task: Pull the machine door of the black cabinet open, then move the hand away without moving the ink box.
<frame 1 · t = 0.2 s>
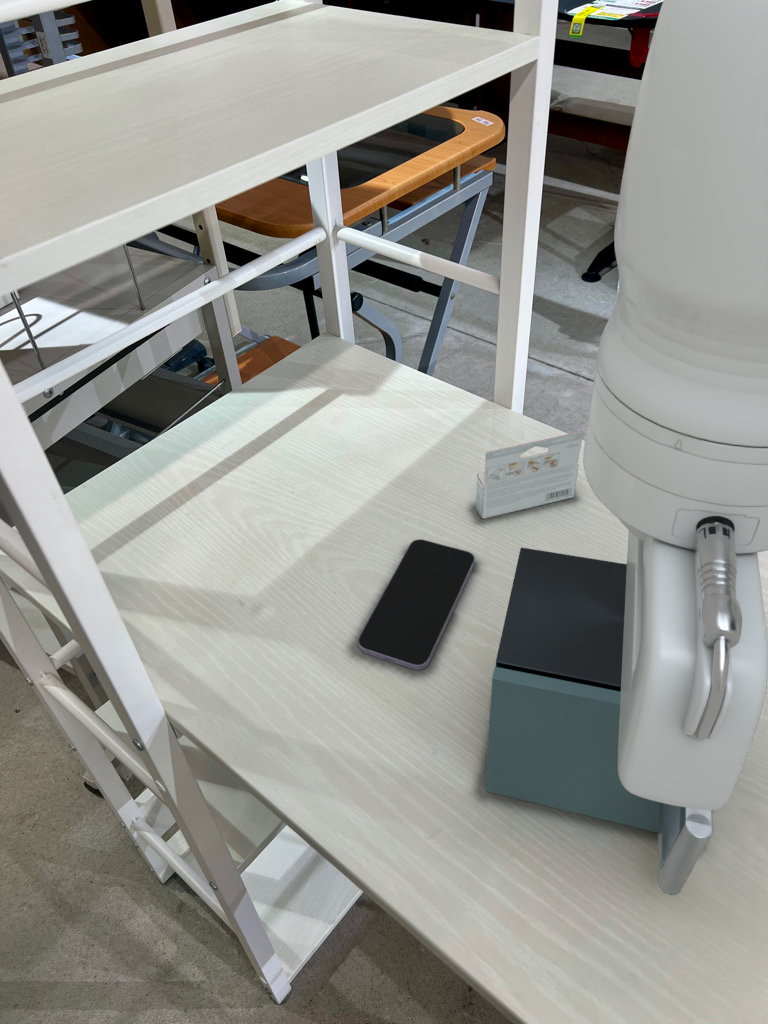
hand: (648, 661, 36), 27 cm above the table, tool pointing down, fingers open, 8 cm apart
smartphone: (419, 605, 75), on the table
machine door: (598, 797, 51), point 8 cm above the table, hinge at 0.0°
ink box: (524, 504, 84), on the table
black cabinet: (594, 740, 63), on the table
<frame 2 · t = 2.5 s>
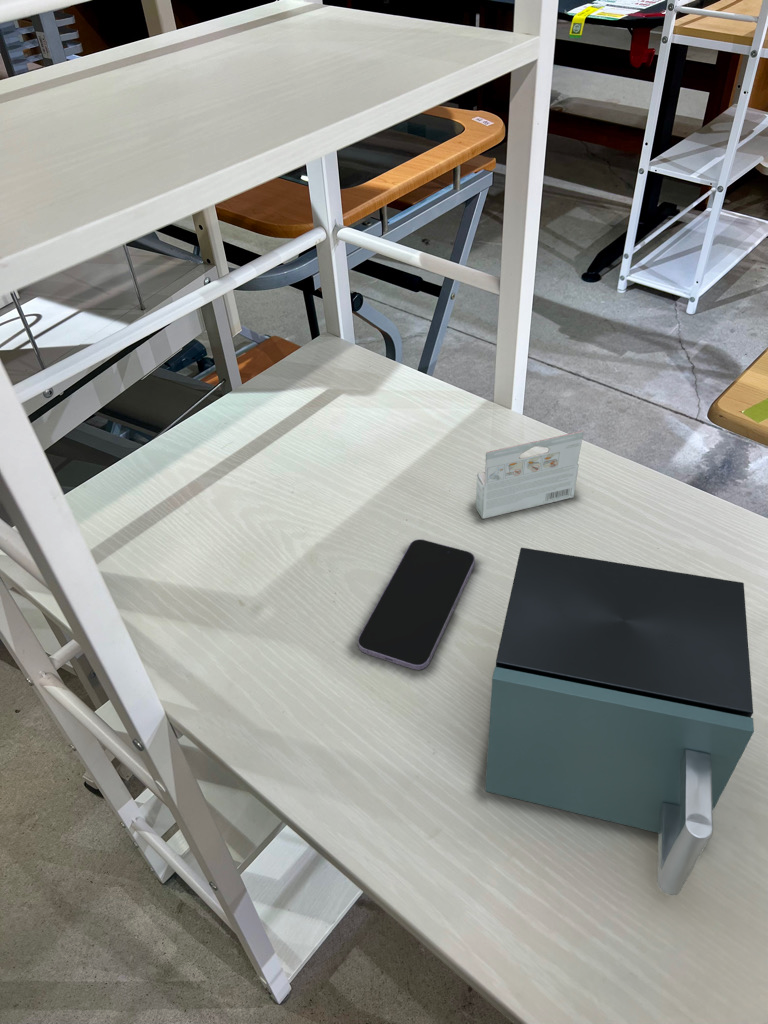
nothing on the table moved.
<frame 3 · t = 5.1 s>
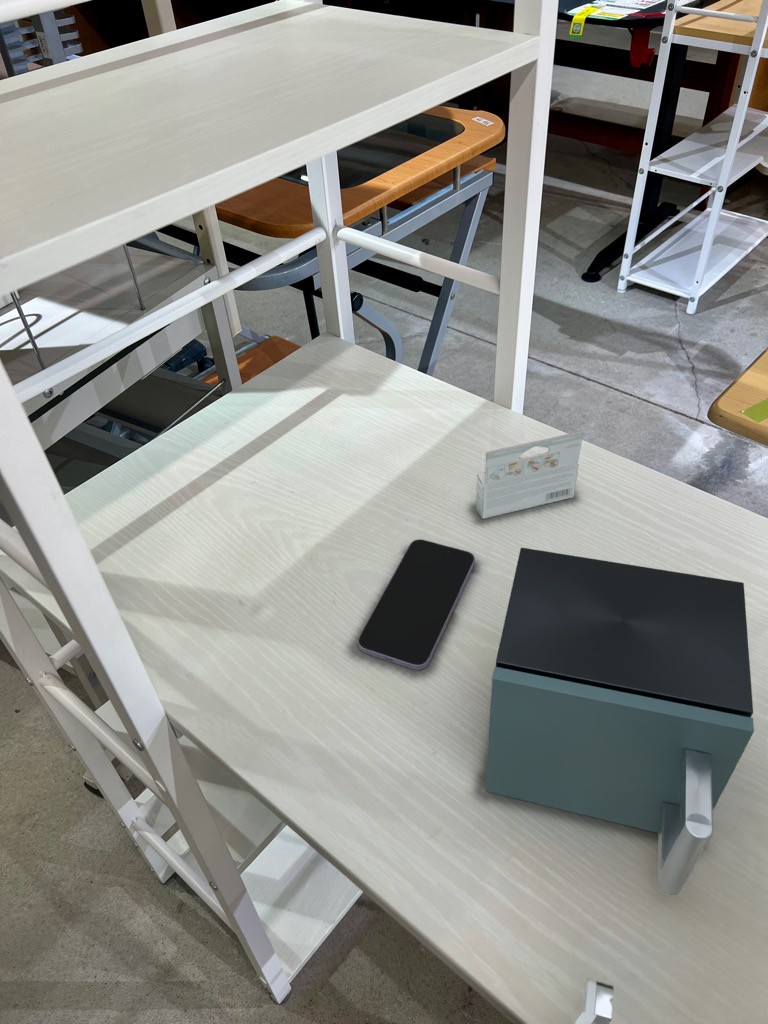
hand: (685, 1009, 42), 8 cm above the table, tool horizontal, fingers open, 8 cm apart
nothing on the table moved.
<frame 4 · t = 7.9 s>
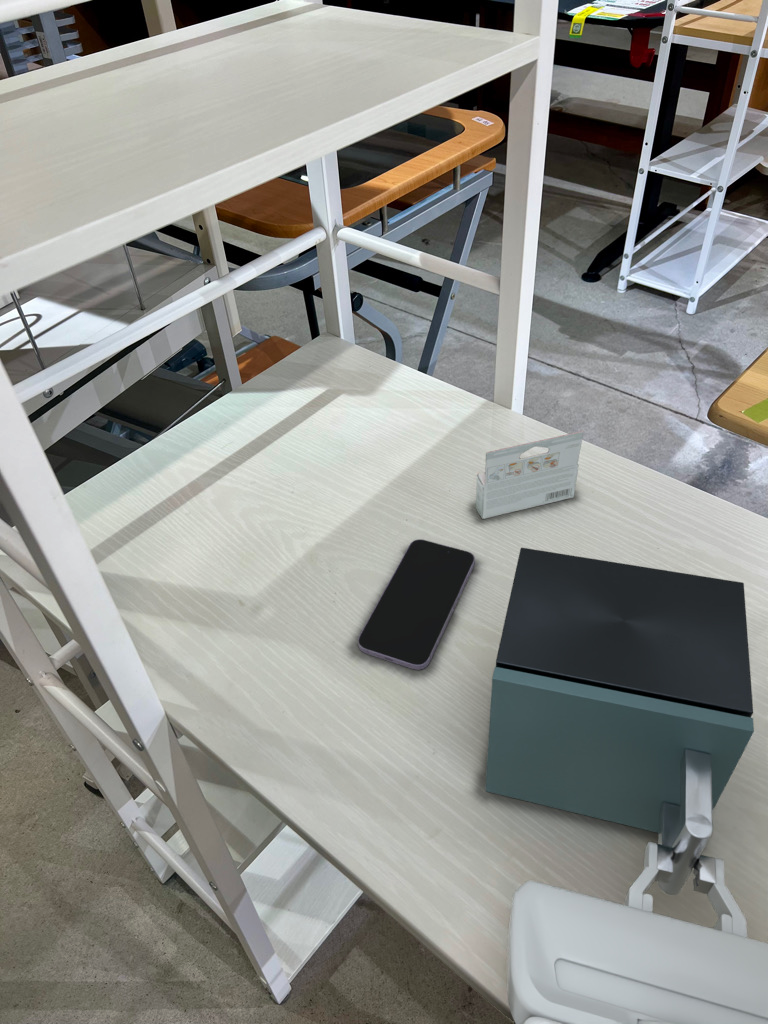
hand: (682, 853, 48), 8 cm above the table, tool horizontal, fingers closed on machine door, 2 cm apart
machine door: (598, 797, 51), point 8 cm above the table, hinge at 0.0°, touching gripper
everything else where it was.
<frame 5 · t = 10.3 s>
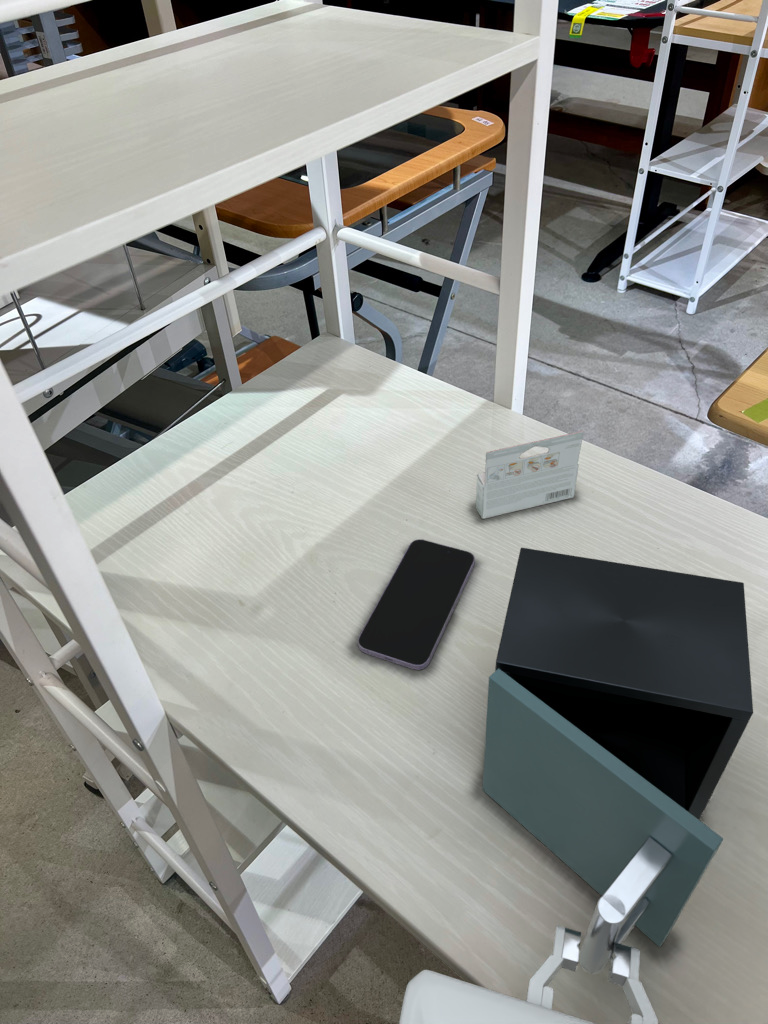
hand: (595, 939, 44), 8 cm above the table, tool horizontal, fingers closed
machine door: (553, 839, 49), point 8 cm above the table, hinge at 30.5°, touching gripper
everything else where it was.
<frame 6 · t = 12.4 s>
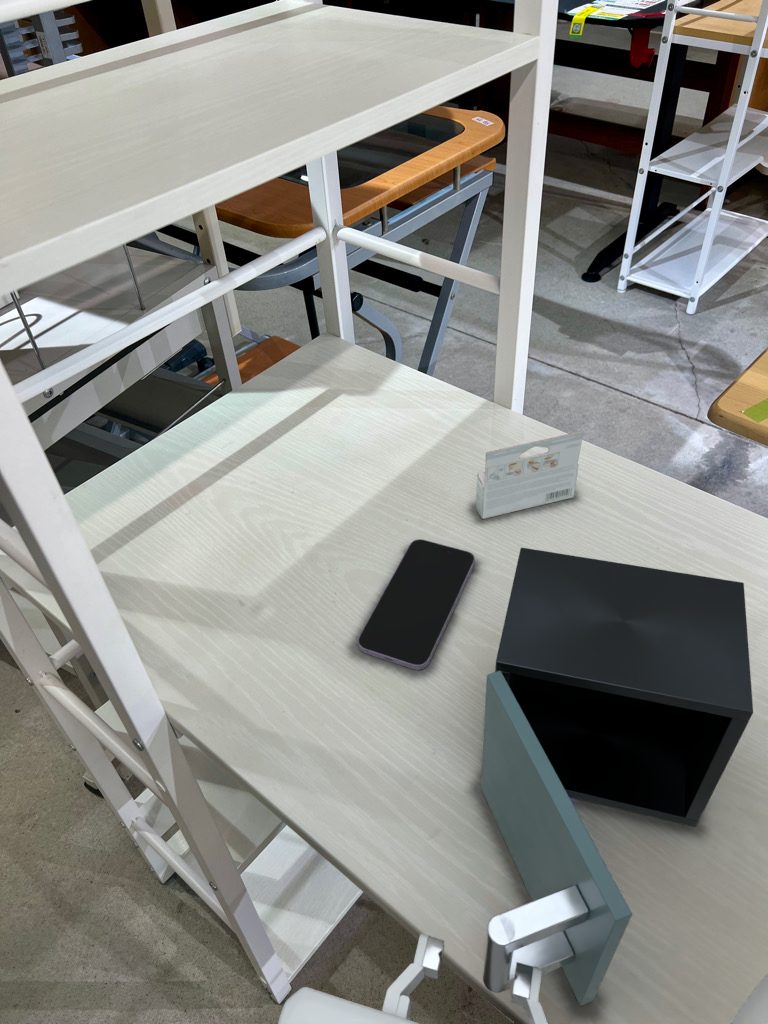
hand: (479, 953, 44), 8 cm above the table, tool horizontal, fingers open, 4 cm apart
machine door: (499, 852, 49), point 8 cm above the table, hinge at 55.4°
everything else where it was.
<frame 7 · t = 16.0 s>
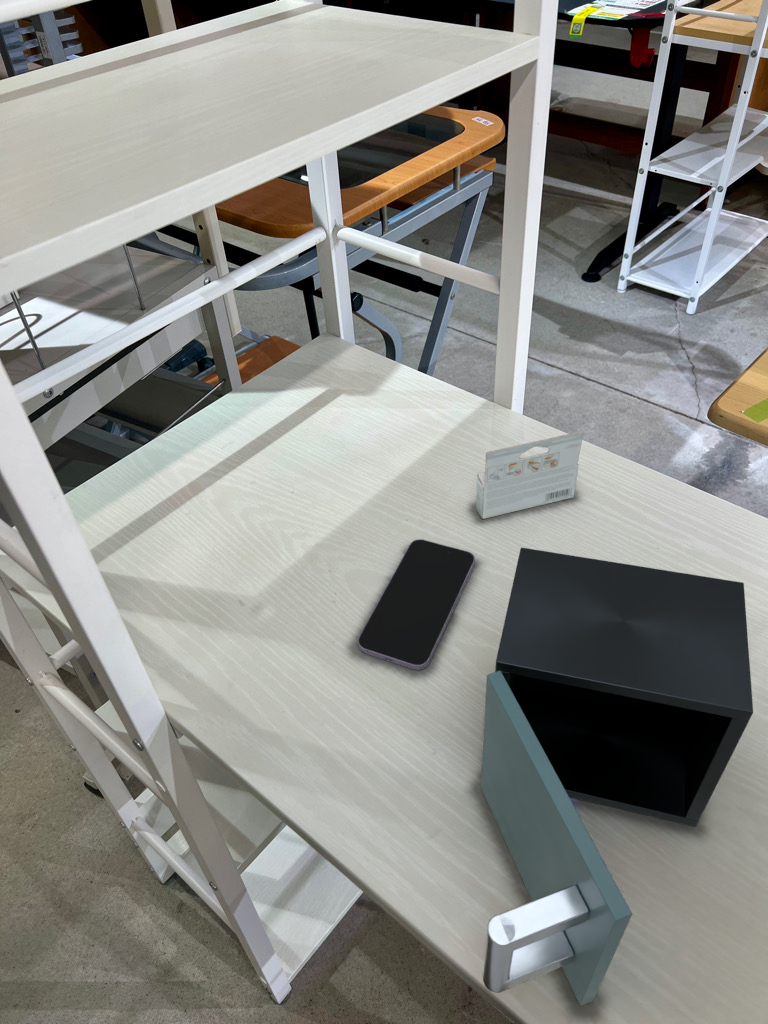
nothing on the table moved.
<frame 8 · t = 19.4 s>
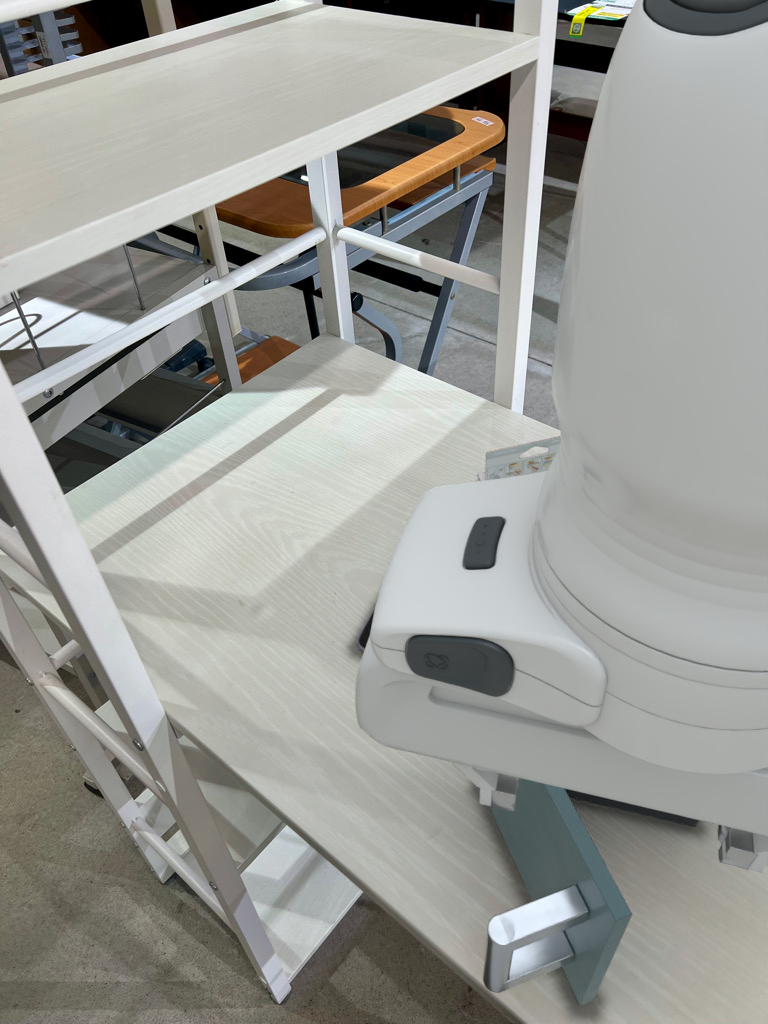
hand: (614, 819, 31), 27 cm above the table, tool pointing down, fingers open, 8 cm apart
nothing on the table moved.
at the end: machine door at +55° (first picture: +0°); the gripper is holding nothing; ink box moved 0.2 cm from its start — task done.
